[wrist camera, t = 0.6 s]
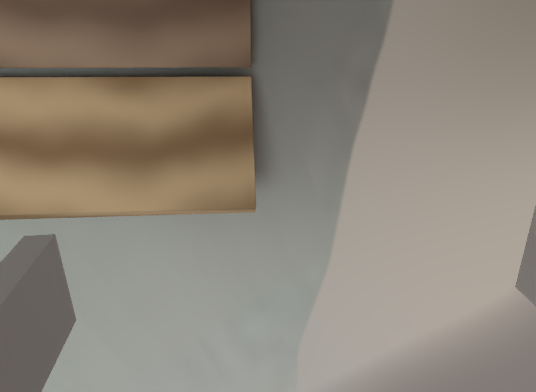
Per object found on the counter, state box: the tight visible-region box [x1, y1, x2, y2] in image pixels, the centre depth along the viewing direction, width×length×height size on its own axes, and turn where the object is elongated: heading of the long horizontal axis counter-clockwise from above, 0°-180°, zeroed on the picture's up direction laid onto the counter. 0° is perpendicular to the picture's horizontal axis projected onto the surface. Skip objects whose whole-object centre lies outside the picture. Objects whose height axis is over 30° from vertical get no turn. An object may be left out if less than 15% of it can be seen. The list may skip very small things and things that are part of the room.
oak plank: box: [0, 77, 256, 220], centre depth 31 cm, size 10×24×2 cm
